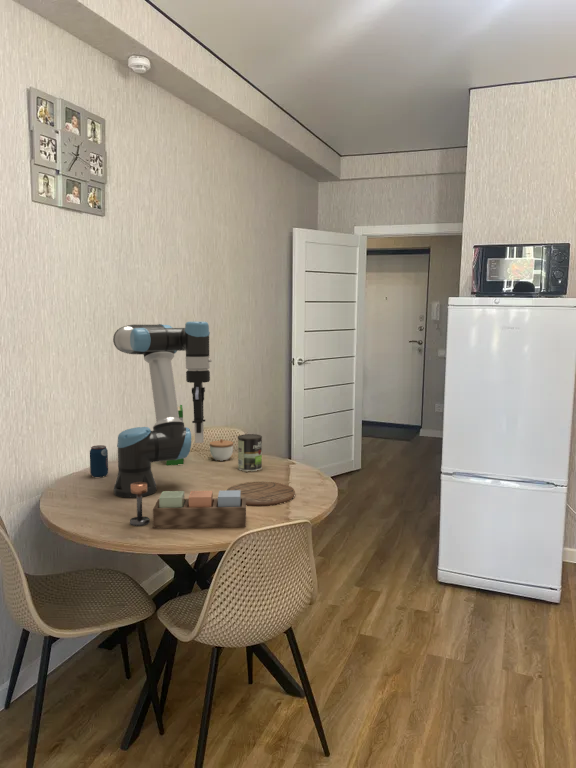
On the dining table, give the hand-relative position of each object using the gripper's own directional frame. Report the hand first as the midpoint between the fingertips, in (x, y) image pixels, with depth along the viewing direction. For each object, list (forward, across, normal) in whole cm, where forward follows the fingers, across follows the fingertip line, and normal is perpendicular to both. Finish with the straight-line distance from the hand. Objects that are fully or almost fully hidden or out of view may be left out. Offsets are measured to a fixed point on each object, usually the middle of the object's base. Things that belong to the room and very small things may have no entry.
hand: (199, 442), depth 186 cm
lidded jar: (+22, +74, -4) cm, 77 cm away
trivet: (+24, +19, -20) cm, 36 cm away
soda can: (+23, +48, +45) cm, 69 cm away
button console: (+24, -8, -1) cm, 25 cm away
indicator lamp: (+24, -8, +18) cm, 31 cm away
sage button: (+19, -8, +8) cm, 22 cm away
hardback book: (+22, +73, +17) cm, 78 cm away
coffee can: (+23, +57, -16) cm, 63 cm away
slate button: (+19, -8, -10) cm, 23 cm away
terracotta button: (+19, -8, -1) cm, 21 cm away
